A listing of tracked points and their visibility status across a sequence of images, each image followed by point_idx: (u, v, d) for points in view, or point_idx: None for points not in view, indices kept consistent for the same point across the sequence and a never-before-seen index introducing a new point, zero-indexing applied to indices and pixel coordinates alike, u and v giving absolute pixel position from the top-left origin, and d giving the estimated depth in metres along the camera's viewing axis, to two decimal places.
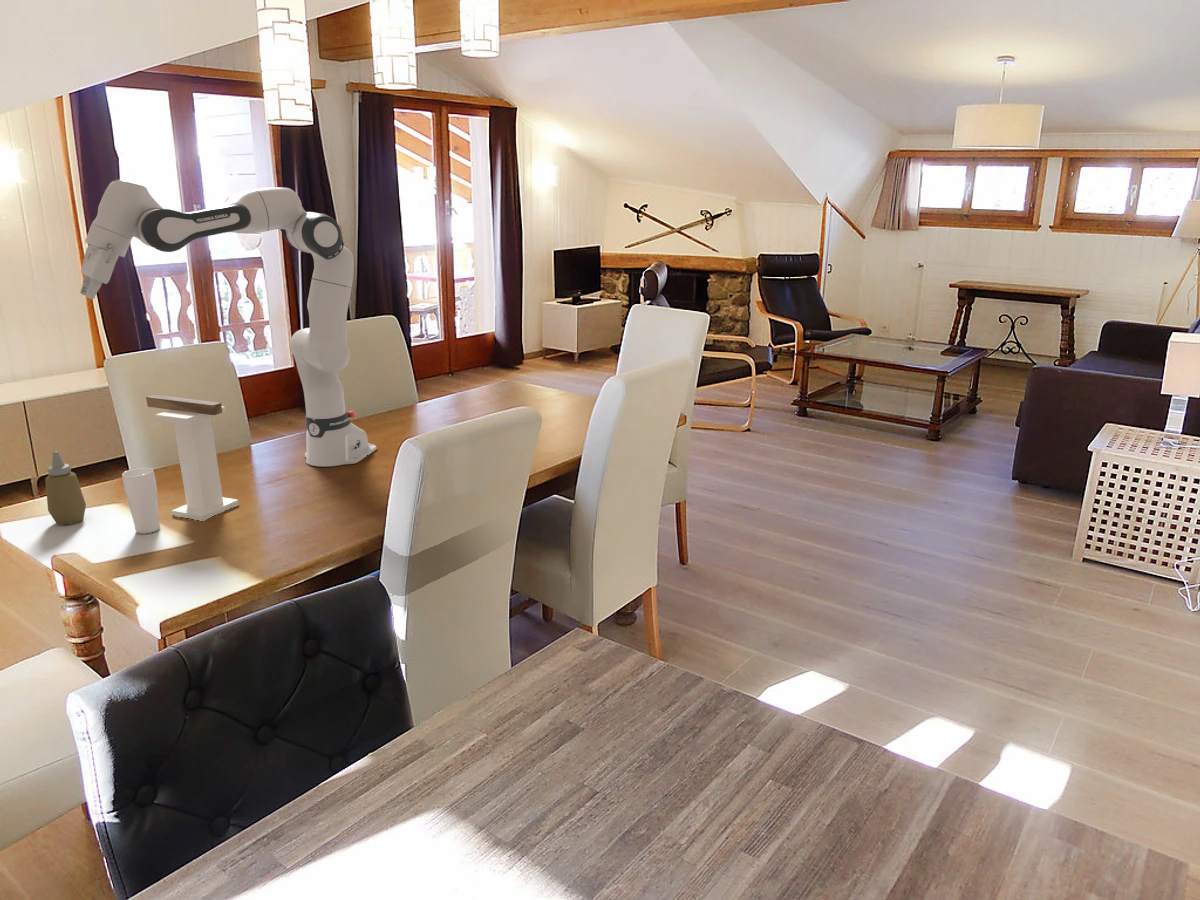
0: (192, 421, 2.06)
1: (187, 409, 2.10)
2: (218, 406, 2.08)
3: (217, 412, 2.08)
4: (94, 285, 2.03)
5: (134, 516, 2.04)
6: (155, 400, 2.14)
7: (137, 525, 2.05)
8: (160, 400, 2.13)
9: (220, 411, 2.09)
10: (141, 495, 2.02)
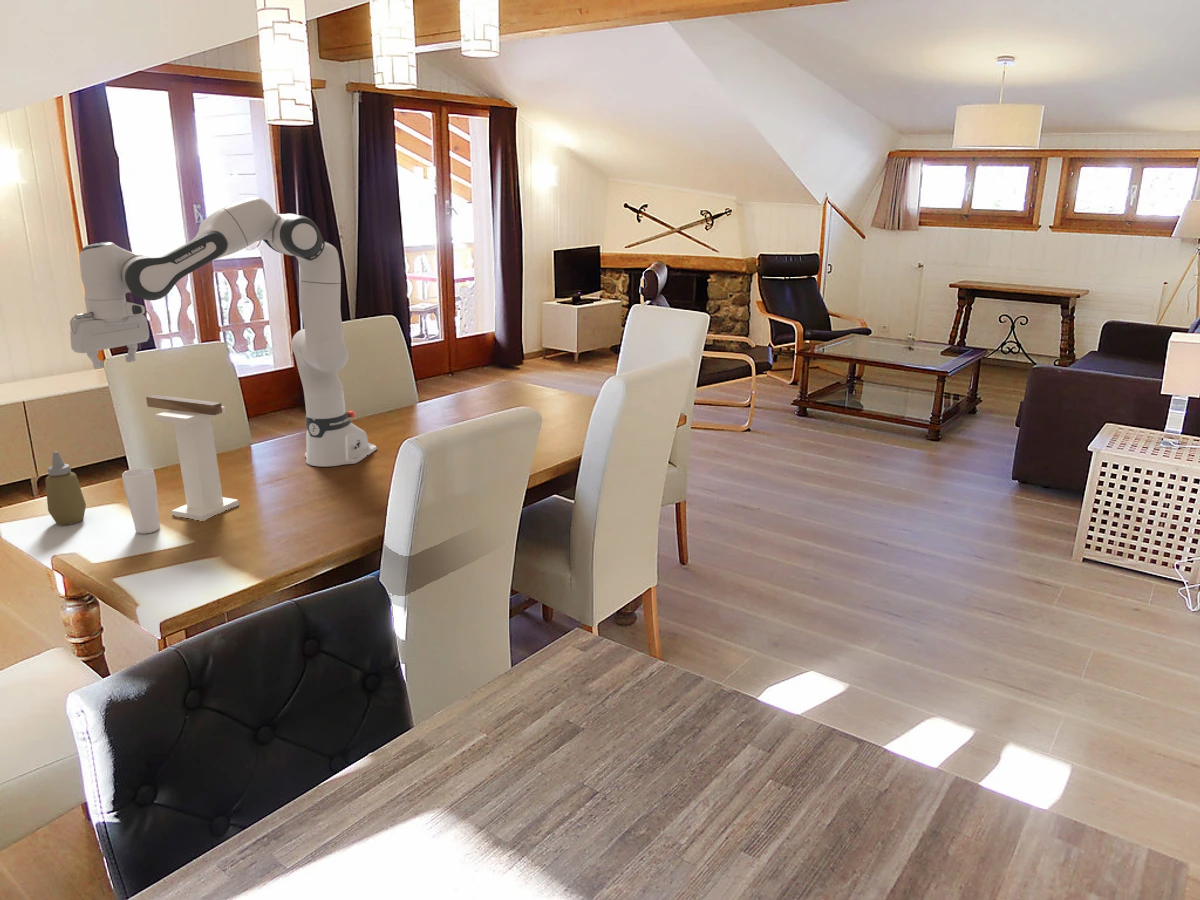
0: (192, 421, 2.06)
1: (187, 409, 2.10)
2: (218, 406, 2.08)
3: (217, 412, 2.08)
4: (90, 356, 2.10)
5: (134, 516, 2.04)
6: (155, 400, 2.14)
7: (137, 525, 2.05)
8: (160, 400, 2.13)
9: (220, 411, 2.09)
10: (141, 495, 2.02)
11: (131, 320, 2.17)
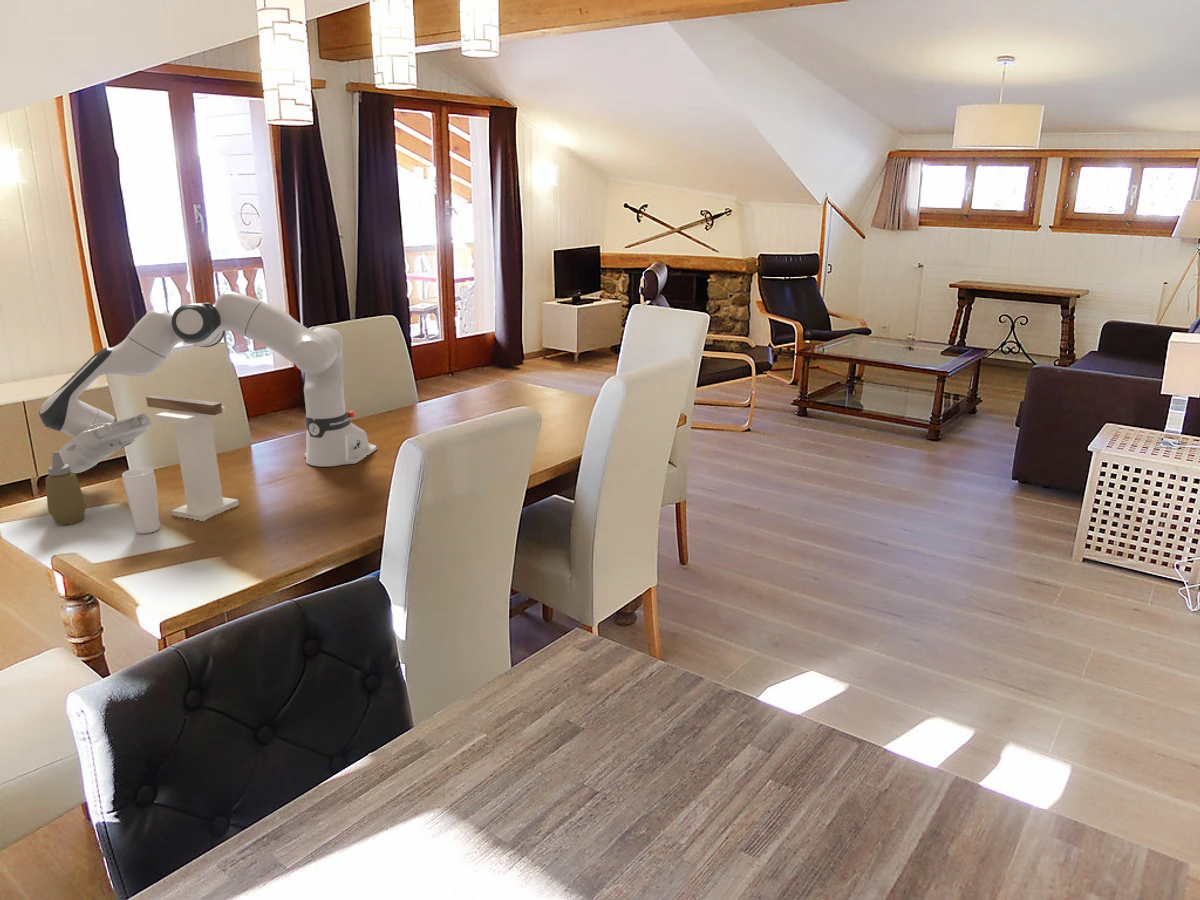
0: (192, 421, 2.06)
1: (187, 409, 2.10)
2: (218, 406, 2.08)
3: (217, 412, 2.08)
4: (100, 433, 2.17)
5: (134, 516, 2.04)
6: (155, 400, 2.14)
7: (137, 525, 2.05)
8: (160, 400, 2.13)
9: (220, 411, 2.09)
10: (141, 495, 2.02)
11: None
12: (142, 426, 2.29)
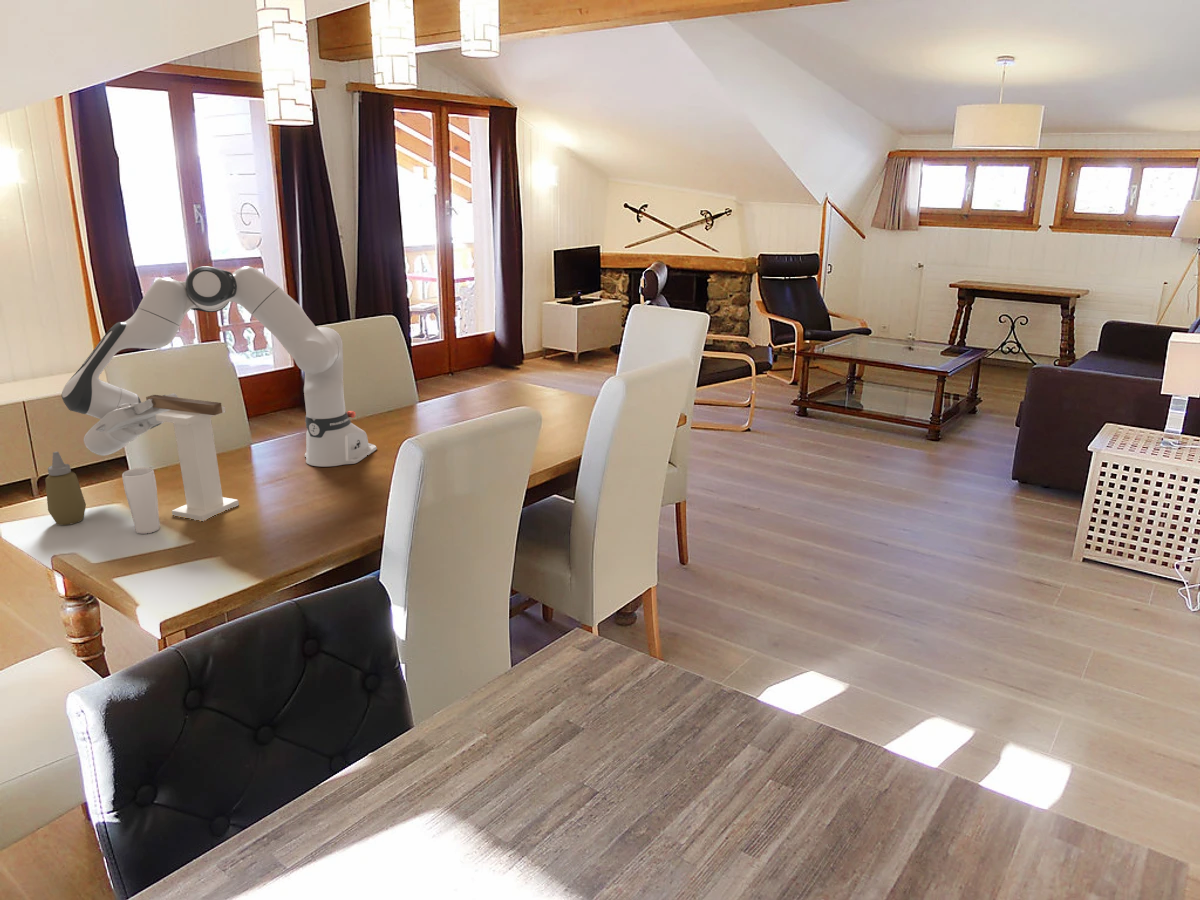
0: (192, 421, 2.06)
1: (187, 409, 2.10)
2: (218, 406, 2.08)
3: (217, 412, 2.08)
4: (139, 409, 2.13)
5: (134, 516, 2.04)
6: (155, 400, 2.14)
7: (137, 525, 2.05)
8: (160, 400, 2.13)
9: (220, 411, 2.09)
10: (141, 495, 2.02)
11: None
12: None
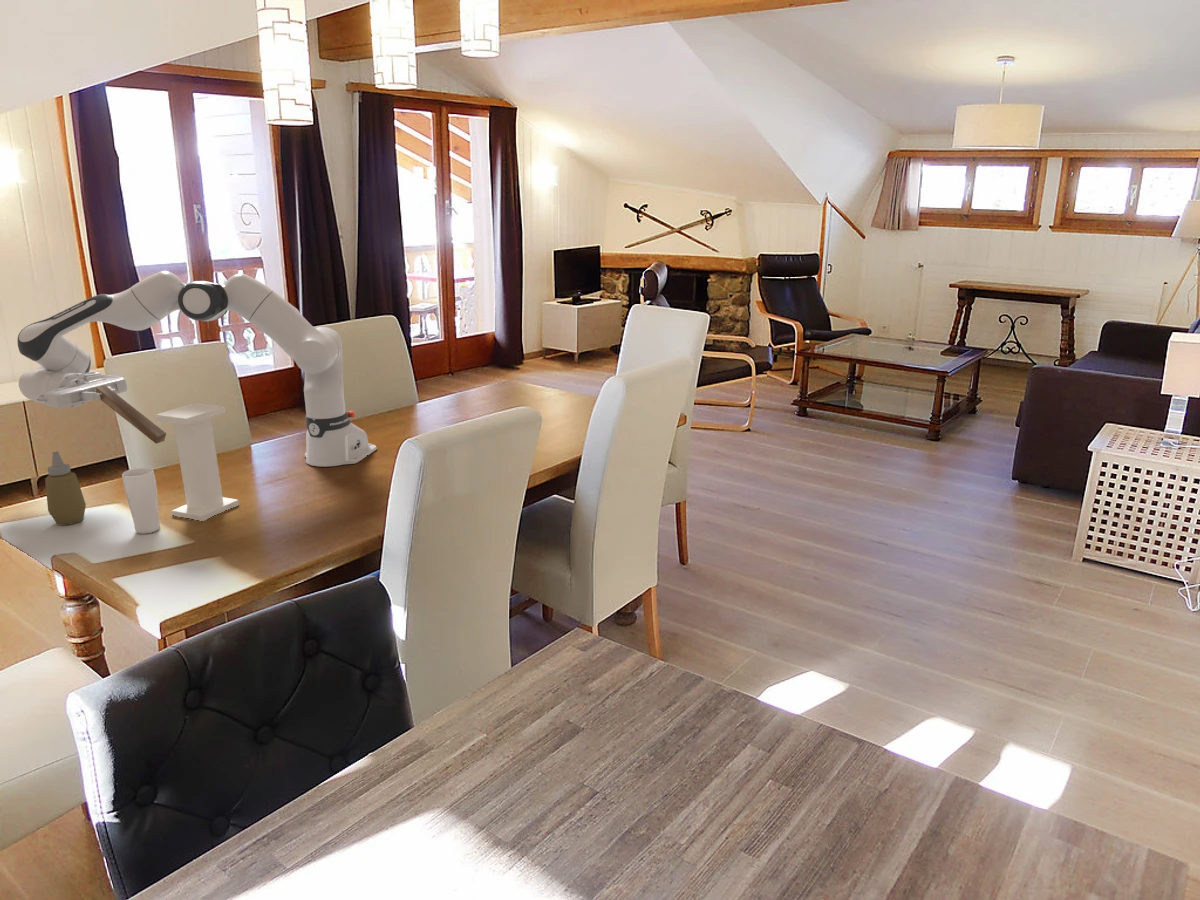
0: (192, 421, 2.06)
1: (132, 422, 2.19)
2: (162, 436, 2.18)
3: (159, 441, 2.19)
4: (86, 397, 2.19)
5: (134, 516, 2.04)
6: (104, 396, 2.20)
7: (137, 525, 2.05)
8: (109, 399, 2.20)
9: (162, 440, 2.19)
10: (141, 495, 2.02)
11: (91, 378, 2.29)
12: (117, 392, 2.29)
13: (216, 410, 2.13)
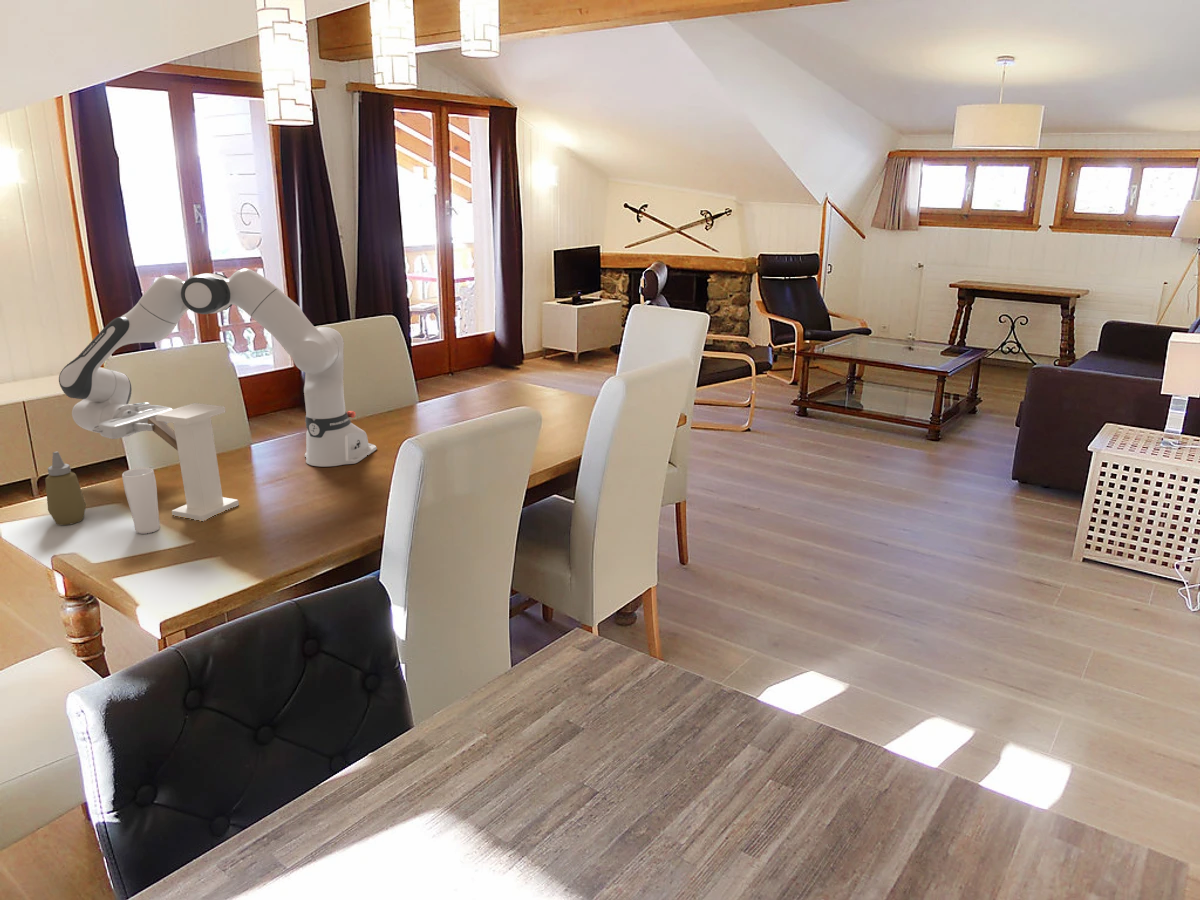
0: (192, 421, 2.06)
1: None
2: None
3: None
4: (138, 428, 2.31)
5: (134, 516, 2.04)
6: (155, 427, 2.32)
7: (137, 525, 2.05)
8: (160, 430, 2.32)
9: None
10: (141, 495, 2.02)
11: (142, 408, 2.40)
12: (166, 422, 2.41)
13: (216, 410, 2.13)
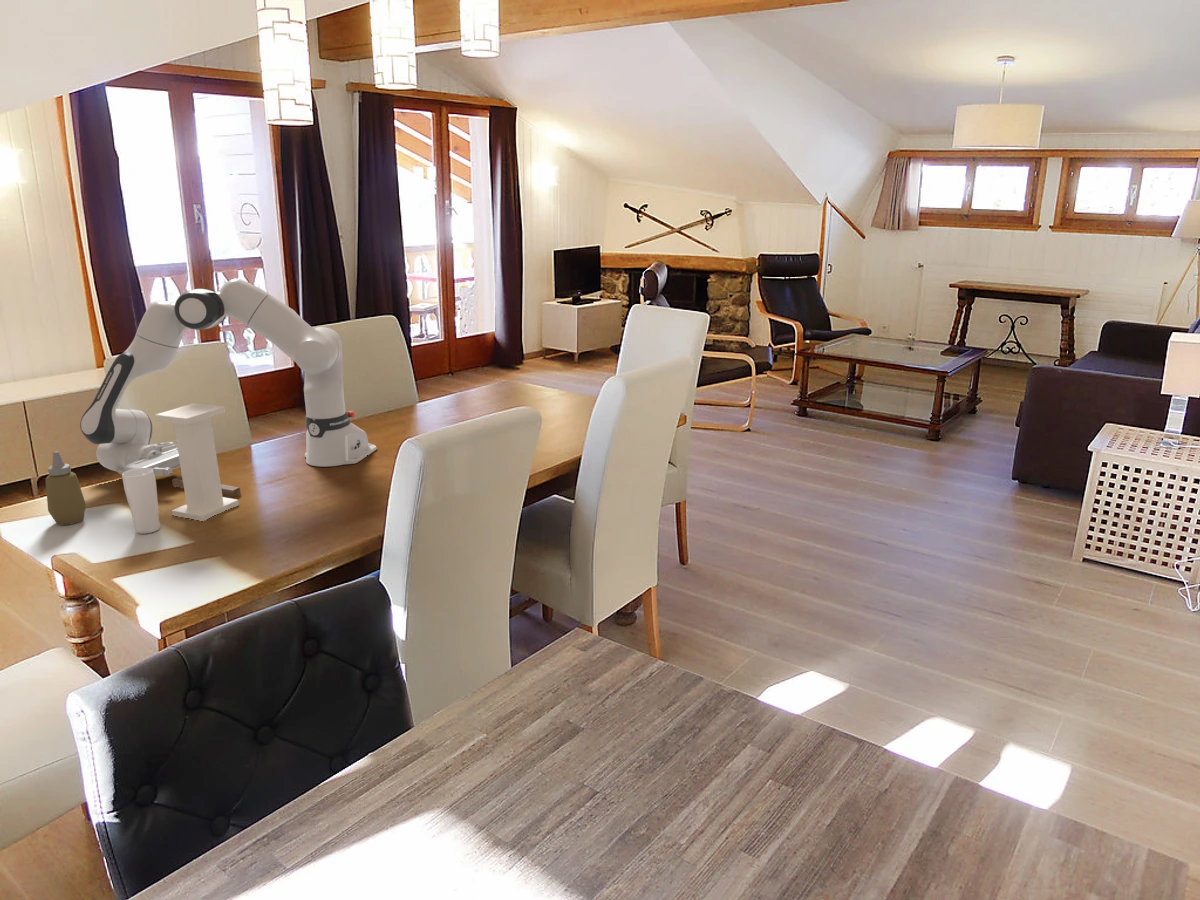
0: (192, 421, 2.06)
1: None
2: (237, 490, 2.29)
3: (236, 496, 2.29)
4: (155, 473, 2.30)
5: (134, 516, 2.04)
6: (180, 483, 2.35)
7: (137, 525, 2.05)
8: None
9: (239, 495, 2.30)
10: (141, 495, 2.02)
11: (166, 448, 2.41)
12: None
13: (216, 410, 2.13)
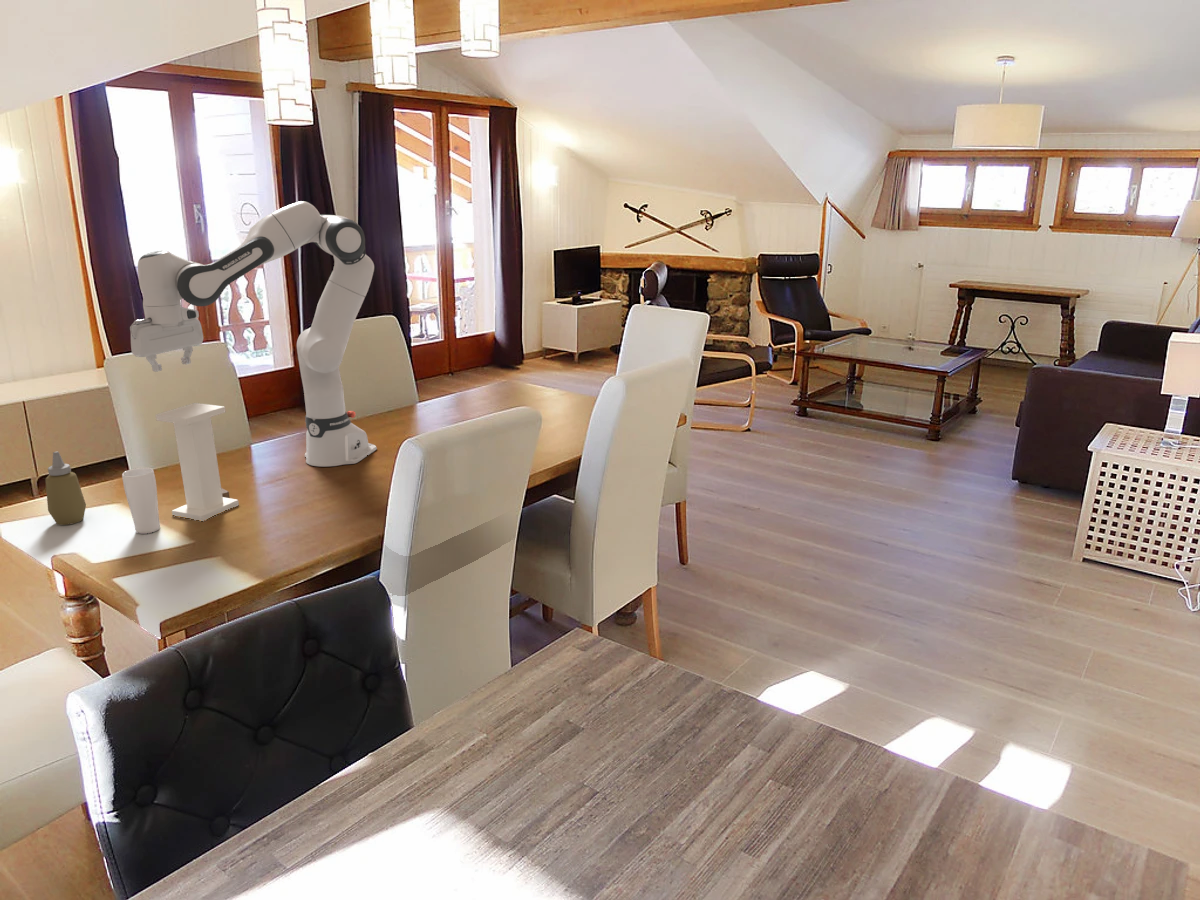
0: (192, 421, 2.06)
1: None
2: (225, 495, 2.26)
3: None
4: (149, 359, 2.21)
5: (134, 516, 2.04)
6: None
7: (137, 525, 2.05)
8: None
9: None
10: (141, 495, 2.02)
11: (186, 324, 2.27)
12: None
13: (216, 410, 2.13)
